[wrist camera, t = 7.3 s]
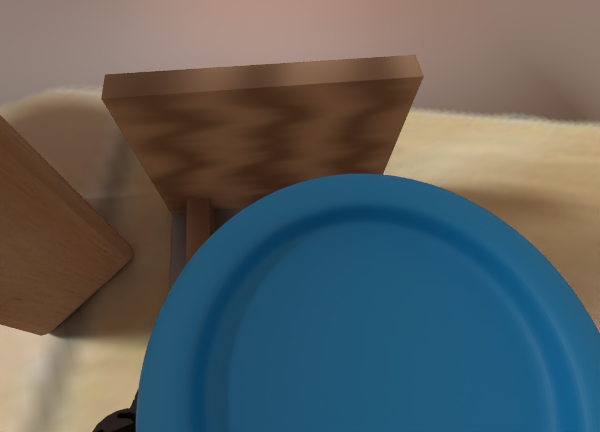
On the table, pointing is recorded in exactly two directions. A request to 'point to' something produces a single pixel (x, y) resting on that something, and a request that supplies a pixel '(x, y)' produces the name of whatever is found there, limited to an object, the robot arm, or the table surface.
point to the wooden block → (48, 241)
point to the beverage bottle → (369, 321)
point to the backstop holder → (256, 132)
